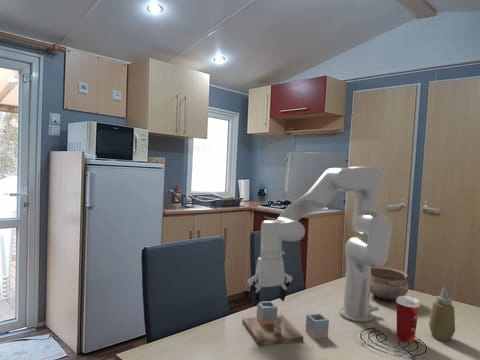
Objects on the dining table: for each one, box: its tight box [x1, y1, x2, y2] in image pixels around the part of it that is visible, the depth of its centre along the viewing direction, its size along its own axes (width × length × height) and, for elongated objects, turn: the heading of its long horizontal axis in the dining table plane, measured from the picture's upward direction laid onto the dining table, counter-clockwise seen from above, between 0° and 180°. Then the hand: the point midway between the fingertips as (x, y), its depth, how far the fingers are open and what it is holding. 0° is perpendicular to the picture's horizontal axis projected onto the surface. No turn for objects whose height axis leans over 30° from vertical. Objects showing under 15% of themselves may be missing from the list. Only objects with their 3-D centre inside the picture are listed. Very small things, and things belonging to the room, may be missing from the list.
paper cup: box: [395, 295, 421, 344], centre depth 121 cm, size 8×8×14 cm
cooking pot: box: [370, 266, 410, 302], centre depth 160 cm, size 25×19×12 cm
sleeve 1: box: [256, 300, 278, 325], centre depth 125 cm, size 6×6×6 cm
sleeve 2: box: [305, 312, 330, 339], centre depth 120 cm, size 6×6×6 cm
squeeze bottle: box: [428, 287, 456, 342], centre depth 123 cm, size 8×8×18 cm
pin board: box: [241, 306, 304, 346], centre depth 121 cm, size 16×17×6 cm
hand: (269, 300), depth 126 cm, fingers open, 9 cm apart
